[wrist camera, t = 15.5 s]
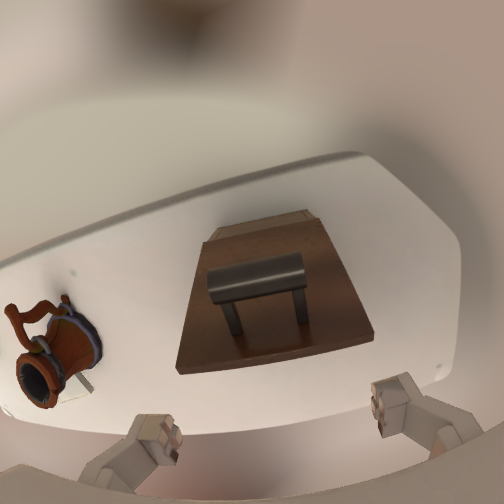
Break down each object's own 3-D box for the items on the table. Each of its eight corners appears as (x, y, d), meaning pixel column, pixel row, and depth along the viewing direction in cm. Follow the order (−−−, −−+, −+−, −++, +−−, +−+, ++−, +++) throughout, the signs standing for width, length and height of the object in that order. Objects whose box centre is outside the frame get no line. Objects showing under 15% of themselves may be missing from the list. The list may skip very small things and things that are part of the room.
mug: (39, 269, 41) (-20, 304, 27) (90, 274, 41) (31, 318, 26) (61, 358, 46) (19, 404, 32) (110, 370, 46) (72, 426, 31)
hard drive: (63, 360, 44) (35, 375, 46) (91, 394, 46) (59, 404, 48) (68, 356, 46) (39, 370, 48) (94, 389, 48) (63, 399, 49)
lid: (374, 341, 16) (377, 263, 13) (179, 375, 17) (139, 310, 14) (320, 224, 29) (312, 172, 26) (205, 248, 30) (188, 199, 27)
